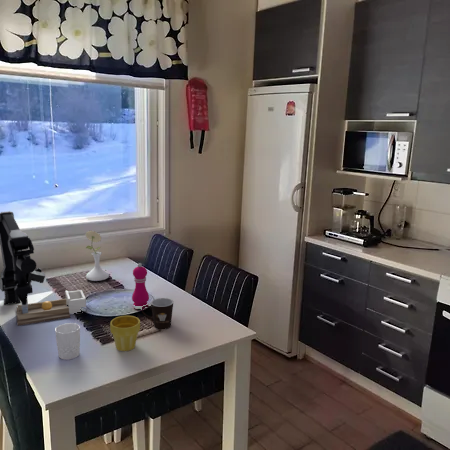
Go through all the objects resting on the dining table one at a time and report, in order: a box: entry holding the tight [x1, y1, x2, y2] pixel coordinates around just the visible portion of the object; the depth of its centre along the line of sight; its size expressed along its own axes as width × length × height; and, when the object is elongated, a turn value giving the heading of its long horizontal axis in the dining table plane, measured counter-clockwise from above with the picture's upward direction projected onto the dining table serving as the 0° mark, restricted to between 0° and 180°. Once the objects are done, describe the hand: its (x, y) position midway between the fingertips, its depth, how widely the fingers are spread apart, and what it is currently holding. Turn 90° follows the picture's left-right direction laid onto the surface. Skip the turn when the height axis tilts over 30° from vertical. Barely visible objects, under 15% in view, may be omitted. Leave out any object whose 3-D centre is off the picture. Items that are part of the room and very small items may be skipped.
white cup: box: [54, 322, 81, 361], centre depth 150 cm, size 8×8×10 cm
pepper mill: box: [131, 262, 150, 306], centre depth 190 cm, size 7×7×20 cm
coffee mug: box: [141, 297, 174, 331], centre depth 174 cm, size 12×9×10 cm
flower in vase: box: [85, 230, 110, 282], centre depth 223 cm, size 13×11×25 cm
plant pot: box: [109, 315, 141, 352], centre depth 157 cm, size 10×10×10 cm
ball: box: [42, 300, 52, 310], centre depth 184 cm, size 4×4×4 cm
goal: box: [64, 289, 87, 315], centre depth 188 cm, size 11×7×7 cm, turn 26°
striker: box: [20, 299, 29, 314], centre depth 180 cm, size 7×2×8 cm, turn 26°
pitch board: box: [16, 298, 71, 327], centre depth 183 cm, size 17×20×3 cm
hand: (24, 303), depth 180 cm, fingers closed on striker, 2 cm apart
